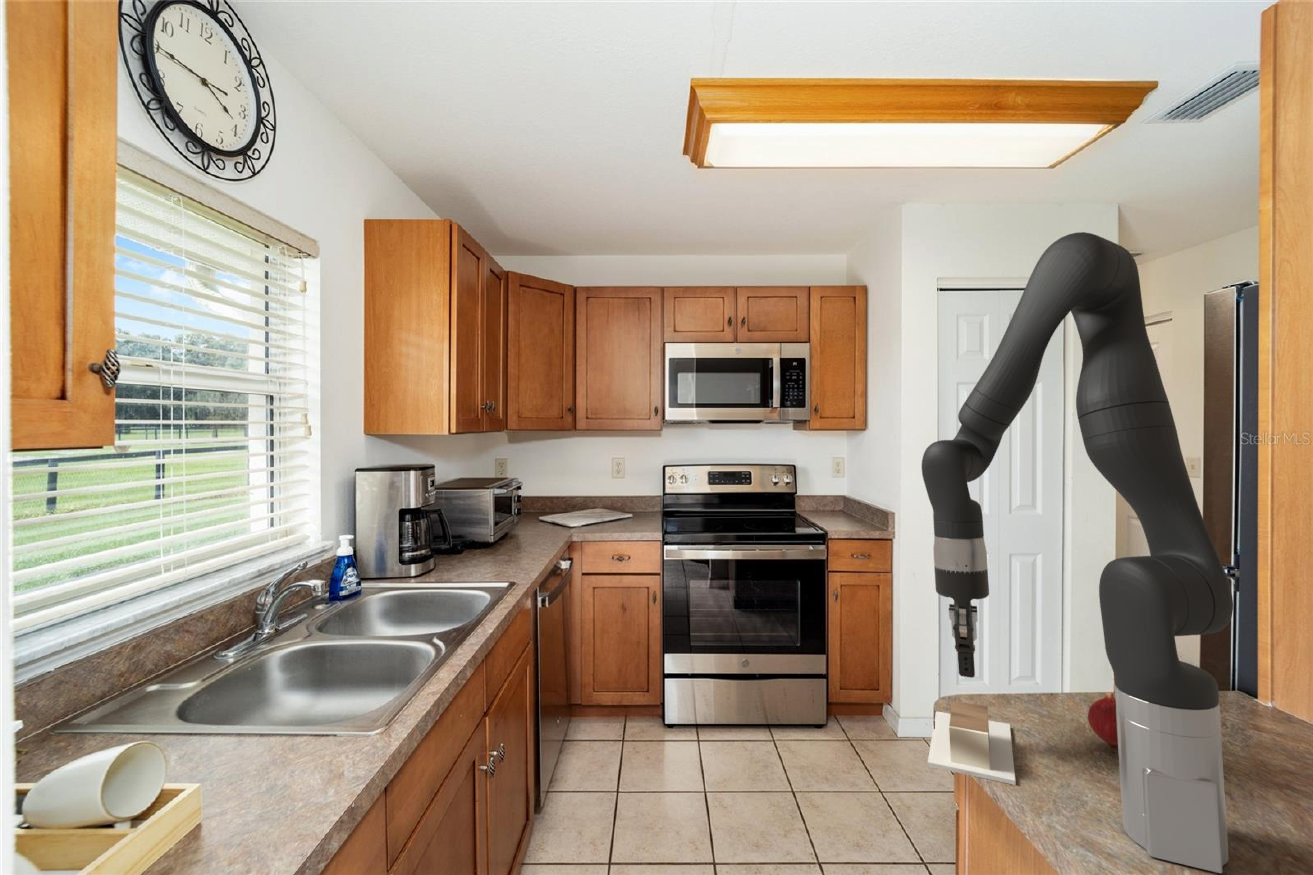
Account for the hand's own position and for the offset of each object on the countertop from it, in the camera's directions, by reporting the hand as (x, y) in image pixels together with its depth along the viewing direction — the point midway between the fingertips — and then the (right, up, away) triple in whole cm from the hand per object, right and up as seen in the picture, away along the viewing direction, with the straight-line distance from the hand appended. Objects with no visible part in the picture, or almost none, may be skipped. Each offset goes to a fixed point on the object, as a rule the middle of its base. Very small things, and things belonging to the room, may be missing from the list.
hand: (966, 675), depth 90 cm
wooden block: (+1, -8, +1) cm, 8 cm away
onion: (+21, -10, -2) cm, 24 cm away
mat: (0, -11, -1) cm, 11 cm away
